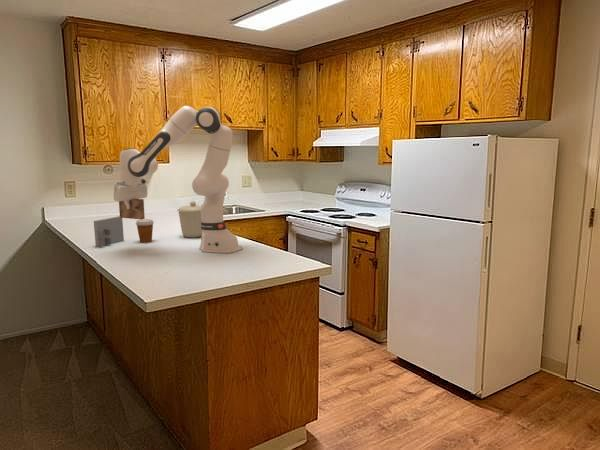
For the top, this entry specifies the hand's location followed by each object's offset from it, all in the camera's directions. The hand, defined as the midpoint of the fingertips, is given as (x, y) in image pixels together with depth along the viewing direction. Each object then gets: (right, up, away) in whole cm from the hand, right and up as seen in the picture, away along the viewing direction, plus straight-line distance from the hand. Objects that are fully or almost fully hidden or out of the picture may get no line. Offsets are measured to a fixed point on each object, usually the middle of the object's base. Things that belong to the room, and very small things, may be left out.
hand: (131, 208), depth 229 cm
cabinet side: (-17, -19, +18) cm, 31 cm away
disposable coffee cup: (-1, -18, +24) cm, 30 cm away
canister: (+23, -16, +38) cm, 47 cm away
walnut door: (0, -5, +1) cm, 5 cm away
